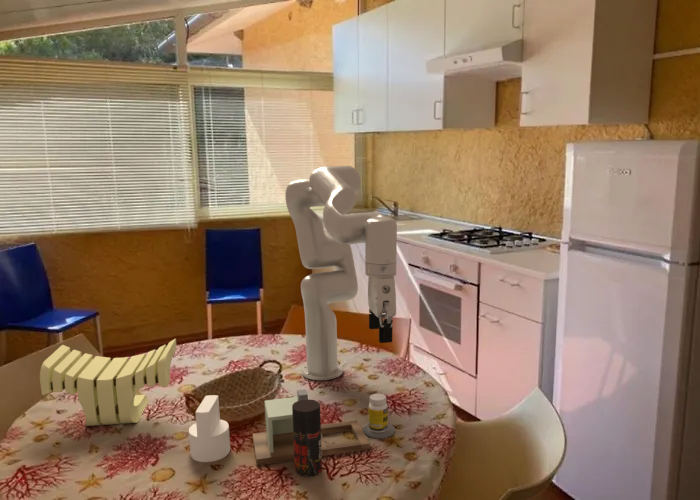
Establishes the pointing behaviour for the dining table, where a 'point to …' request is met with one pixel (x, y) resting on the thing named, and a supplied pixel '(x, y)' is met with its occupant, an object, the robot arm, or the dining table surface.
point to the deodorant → (307, 438)
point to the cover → (280, 416)
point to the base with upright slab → (209, 432)
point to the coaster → (386, 434)
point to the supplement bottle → (378, 413)
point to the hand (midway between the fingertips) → (380, 335)
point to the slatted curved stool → (107, 381)
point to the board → (285, 443)
